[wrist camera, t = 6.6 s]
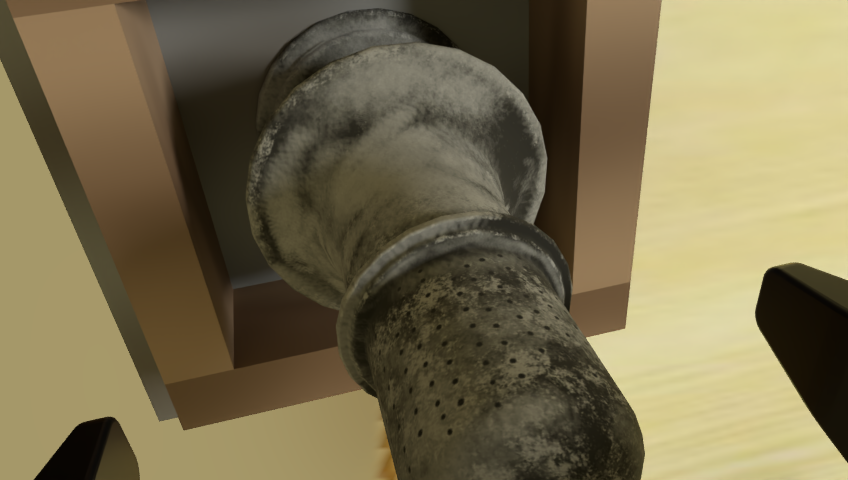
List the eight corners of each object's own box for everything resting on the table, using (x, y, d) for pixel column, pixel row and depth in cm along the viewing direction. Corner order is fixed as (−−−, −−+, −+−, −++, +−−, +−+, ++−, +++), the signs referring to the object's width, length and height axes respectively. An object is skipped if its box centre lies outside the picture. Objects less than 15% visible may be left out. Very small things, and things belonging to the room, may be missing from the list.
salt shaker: (194, 166, 16) (143, 785, 6) (330, -65, 14) (586, 286, 4) (401, 263, 19) (597, 792, 9) (539, 82, 17) (986, 498, 7)
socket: (609, 305, 22) (667, 384, 19) (160, 406, 20) (149, 512, 17) (668, -344, 13) (795, -381, 10) (-134, -280, 11) (-262, -304, 8)
